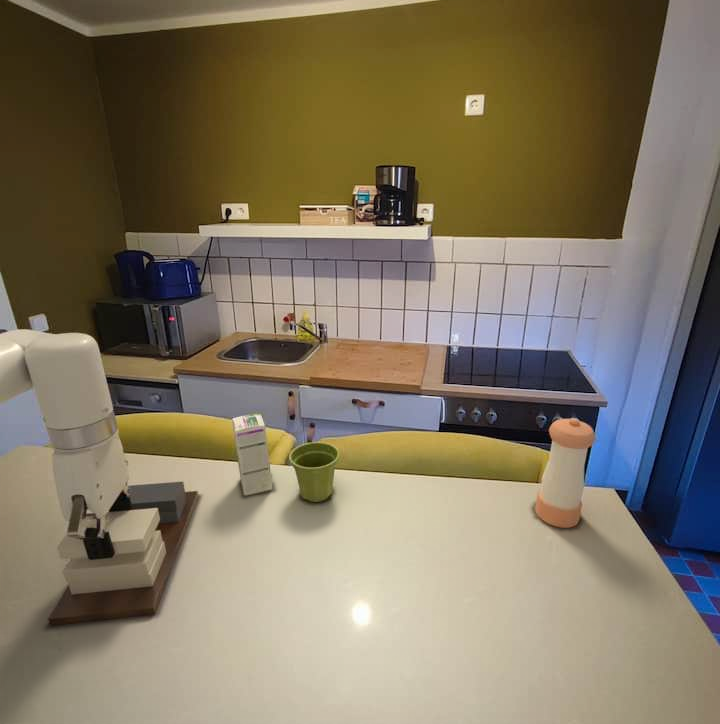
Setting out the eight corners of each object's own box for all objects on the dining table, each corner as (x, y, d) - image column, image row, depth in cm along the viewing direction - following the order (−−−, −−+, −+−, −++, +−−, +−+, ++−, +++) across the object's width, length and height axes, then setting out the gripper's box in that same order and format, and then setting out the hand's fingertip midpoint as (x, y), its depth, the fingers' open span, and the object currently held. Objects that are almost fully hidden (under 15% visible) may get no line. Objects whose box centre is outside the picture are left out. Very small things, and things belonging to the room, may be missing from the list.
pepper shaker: (584, 530, 73) (606, 431, 67) (540, 525, 74) (557, 428, 68) (571, 502, 80) (590, 410, 73) (531, 499, 81) (545, 408, 74)
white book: (61, 559, 58) (56, 547, 57) (84, 526, 64) (80, 514, 64) (145, 551, 59) (142, 538, 59) (160, 519, 66) (157, 507, 65)
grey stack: (111, 527, 73) (105, 505, 71) (124, 507, 78) (118, 486, 76) (179, 522, 74) (174, 500, 73) (187, 502, 79) (183, 481, 78)
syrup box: (273, 489, 85) (267, 424, 79) (242, 497, 83) (234, 430, 77) (268, 474, 90) (261, 411, 84) (239, 480, 88) (231, 417, 82)
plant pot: (287, 484, 86) (284, 446, 83) (332, 474, 89) (330, 438, 86) (298, 513, 78) (295, 472, 75) (346, 501, 81) (345, 462, 78)
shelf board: (49, 625, 57) (47, 619, 57) (125, 501, 81) (124, 496, 81) (155, 614, 59) (153, 607, 58) (198, 495, 83) (197, 490, 83)
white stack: (70, 594, 60) (62, 571, 59) (91, 559, 67) (85, 536, 65) (152, 586, 62) (147, 562, 60) (166, 552, 68) (161, 530, 66)
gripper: (84, 402, 63) (111, 502, 70) (9, 468, 47) (52, 590, 53) (138, 399, 64) (159, 498, 70) (82, 463, 48) (116, 584, 54)
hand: (113, 537), depth 62 cm, fingers closed on white book, 6 cm apart
